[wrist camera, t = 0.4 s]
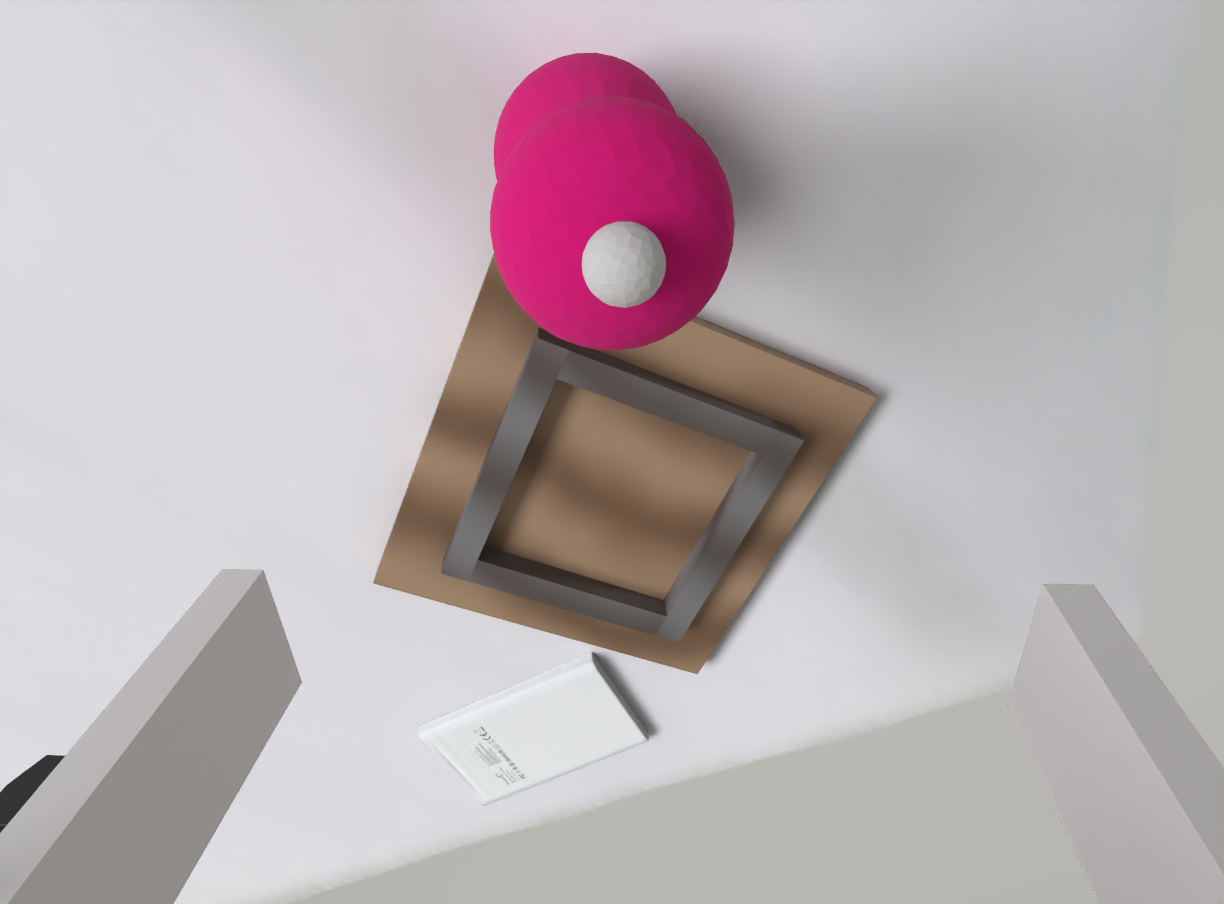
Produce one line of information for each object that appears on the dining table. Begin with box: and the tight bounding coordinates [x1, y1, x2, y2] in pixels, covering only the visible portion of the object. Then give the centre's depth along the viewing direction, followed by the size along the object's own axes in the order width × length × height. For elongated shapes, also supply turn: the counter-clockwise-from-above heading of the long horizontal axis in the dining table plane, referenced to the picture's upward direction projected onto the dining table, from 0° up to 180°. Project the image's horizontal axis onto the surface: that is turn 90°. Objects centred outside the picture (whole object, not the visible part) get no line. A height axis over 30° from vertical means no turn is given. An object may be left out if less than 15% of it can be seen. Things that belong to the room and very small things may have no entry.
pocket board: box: [373, 254, 877, 674], centre depth 40 cm, size 20×20×3 cm
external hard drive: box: [418, 652, 649, 806], centre depth 50 cm, size 2×8×12 cm
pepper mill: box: [490, 53, 734, 350], centre depth 24 cm, size 7×7×20 cm
